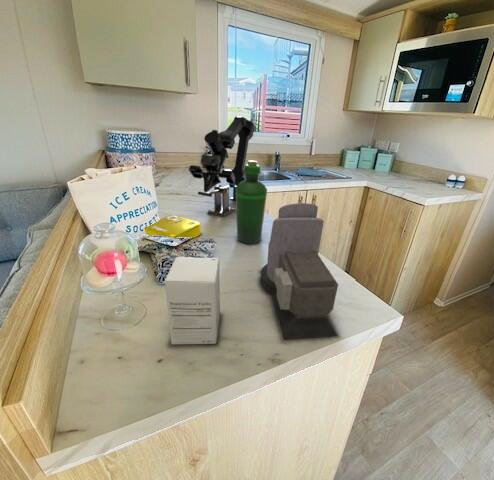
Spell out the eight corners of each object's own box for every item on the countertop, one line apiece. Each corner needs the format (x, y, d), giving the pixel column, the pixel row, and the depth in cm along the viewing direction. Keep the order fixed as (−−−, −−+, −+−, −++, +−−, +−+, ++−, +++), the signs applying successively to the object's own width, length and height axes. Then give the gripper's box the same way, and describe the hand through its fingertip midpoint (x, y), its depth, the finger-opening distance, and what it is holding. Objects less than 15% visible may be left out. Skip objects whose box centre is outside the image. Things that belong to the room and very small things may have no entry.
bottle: (268, 237, 103) (274, 161, 91) (255, 248, 94) (259, 165, 82) (243, 231, 107) (246, 157, 95) (228, 241, 98) (229, 160, 86)
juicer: (256, 266, 83) (261, 187, 73) (307, 265, 86) (318, 188, 76) (274, 340, 57) (285, 231, 46) (346, 335, 60) (371, 231, 49)
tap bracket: (223, 216, 120) (223, 190, 115) (208, 213, 123) (207, 187, 118) (234, 210, 129) (235, 185, 124) (220, 207, 131) (219, 182, 126)
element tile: (140, 237, 95) (138, 225, 93) (172, 224, 107) (171, 213, 105) (174, 248, 90) (173, 235, 88) (203, 233, 102) (202, 221, 100)
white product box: (180, 314, 62) (175, 255, 55) (220, 314, 62) (220, 256, 56) (169, 345, 53) (162, 280, 47) (216, 345, 54) (215, 281, 48)
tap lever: (210, 198, 109) (210, 192, 108) (197, 196, 111) (197, 190, 110) (229, 193, 122) (229, 188, 121) (217, 191, 124) (217, 186, 123)
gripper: (189, 144, 109) (175, 176, 104) (232, 149, 105) (220, 183, 100) (200, 161, 120) (187, 192, 114) (240, 167, 115) (229, 199, 110)
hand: (205, 191), depth 109 cm, fingers closed
